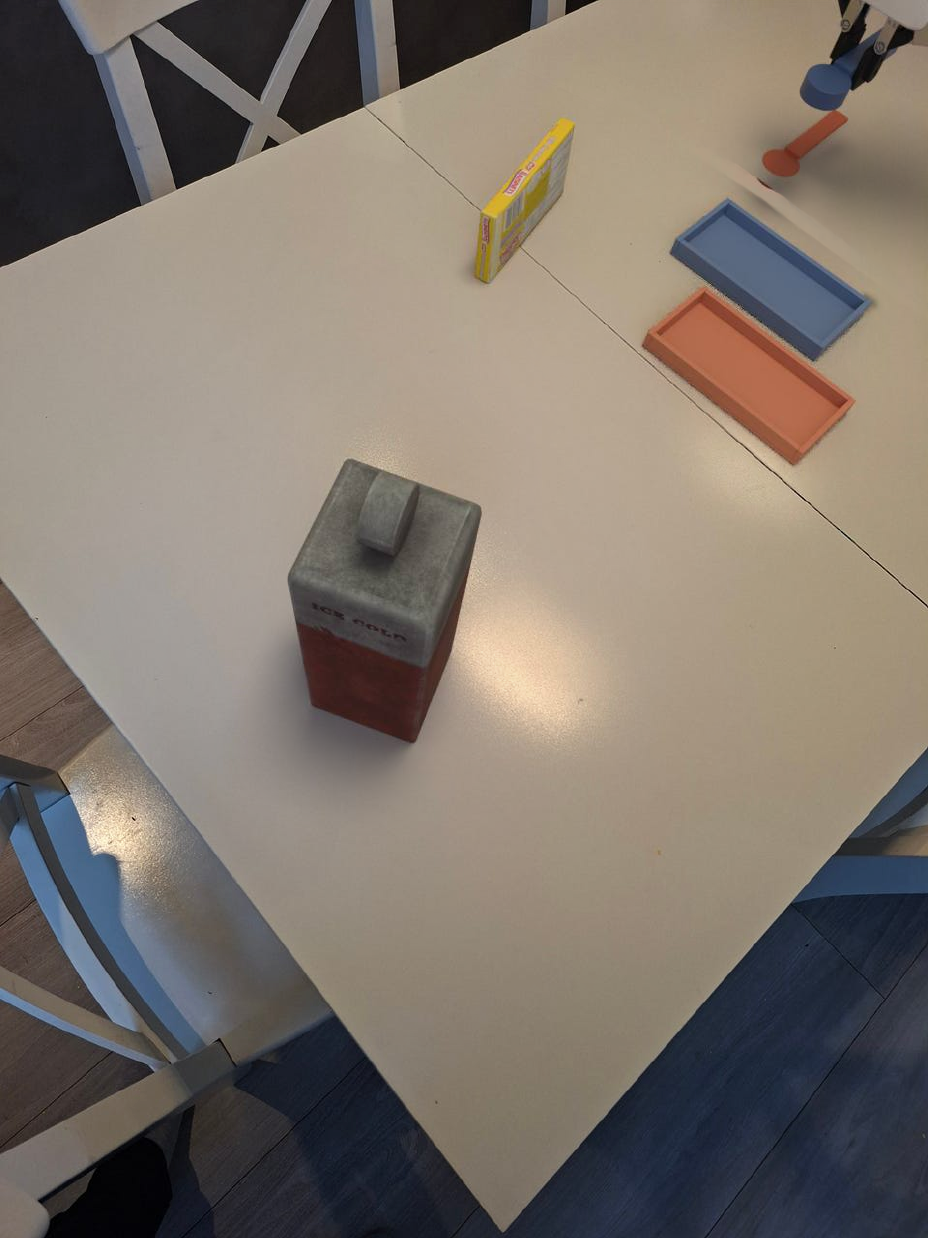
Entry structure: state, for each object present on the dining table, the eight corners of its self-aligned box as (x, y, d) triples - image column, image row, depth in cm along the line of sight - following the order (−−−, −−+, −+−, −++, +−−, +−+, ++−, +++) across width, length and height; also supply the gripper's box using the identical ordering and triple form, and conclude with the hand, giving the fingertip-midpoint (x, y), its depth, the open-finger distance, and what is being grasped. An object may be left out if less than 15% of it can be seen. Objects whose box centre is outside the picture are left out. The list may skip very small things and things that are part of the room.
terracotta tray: (846, 412, 88) (856, 400, 86) (793, 465, 85) (803, 453, 83) (697, 299, 92) (703, 284, 91) (641, 345, 89) (647, 331, 87)
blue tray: (862, 315, 94) (872, 301, 92) (813, 361, 91) (822, 348, 89) (721, 212, 98) (727, 197, 96) (669, 252, 95) (675, 237, 93)
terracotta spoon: (817, 120, 106) (826, 102, 104) (847, 140, 105) (857, 123, 103) (748, 174, 101) (755, 157, 99) (778, 196, 100) (787, 179, 98)
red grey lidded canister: (327, 601, 75) (305, 388, 49) (452, 647, 74) (495, 455, 49) (283, 695, 71) (233, 517, 46) (414, 744, 71) (438, 592, 45)
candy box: (546, 184, 97) (561, 114, 90) (563, 192, 97) (579, 123, 89) (471, 275, 91) (479, 208, 83) (489, 285, 91) (499, 218, 83)
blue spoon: (870, 36, 92) (881, 14, 90) (905, 58, 91) (916, 37, 89) (790, 92, 87) (800, 71, 85) (826, 117, 86) (836, 96, 84)
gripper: (1061, -109, 72) (932, 104, 89) (901, -200, 76) (806, 20, 92) (1015, -77, 69) (890, 136, 86) (852, -173, 73) (763, 49, 90)
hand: (847, 75), depth 89 cm, fingers closed on blue spoon, 2 cm apart
